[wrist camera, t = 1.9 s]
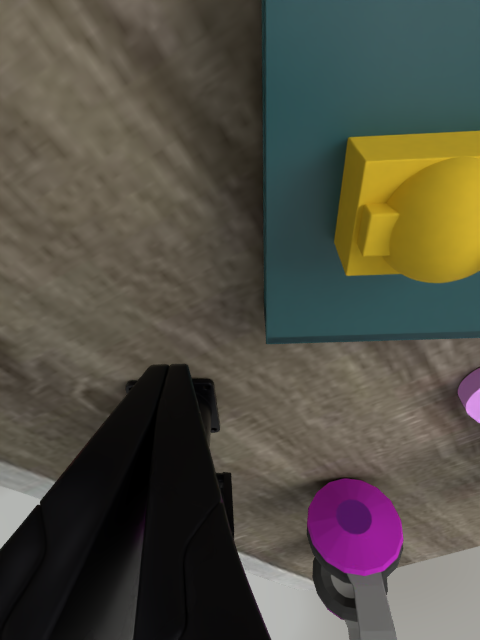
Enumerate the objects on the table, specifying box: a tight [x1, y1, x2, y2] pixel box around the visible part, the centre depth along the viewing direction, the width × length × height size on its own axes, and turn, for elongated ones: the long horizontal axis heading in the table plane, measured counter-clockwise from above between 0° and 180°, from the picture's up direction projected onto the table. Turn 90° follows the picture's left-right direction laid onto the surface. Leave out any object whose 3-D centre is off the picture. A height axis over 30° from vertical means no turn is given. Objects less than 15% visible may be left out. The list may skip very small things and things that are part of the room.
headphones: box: [307, 478, 403, 640], centre depth 36 cm, size 21×9×20 cm, turn 10°
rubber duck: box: [334, 131, 480, 283], centre depth 13 cm, size 7×4×6 cm, turn 93°
